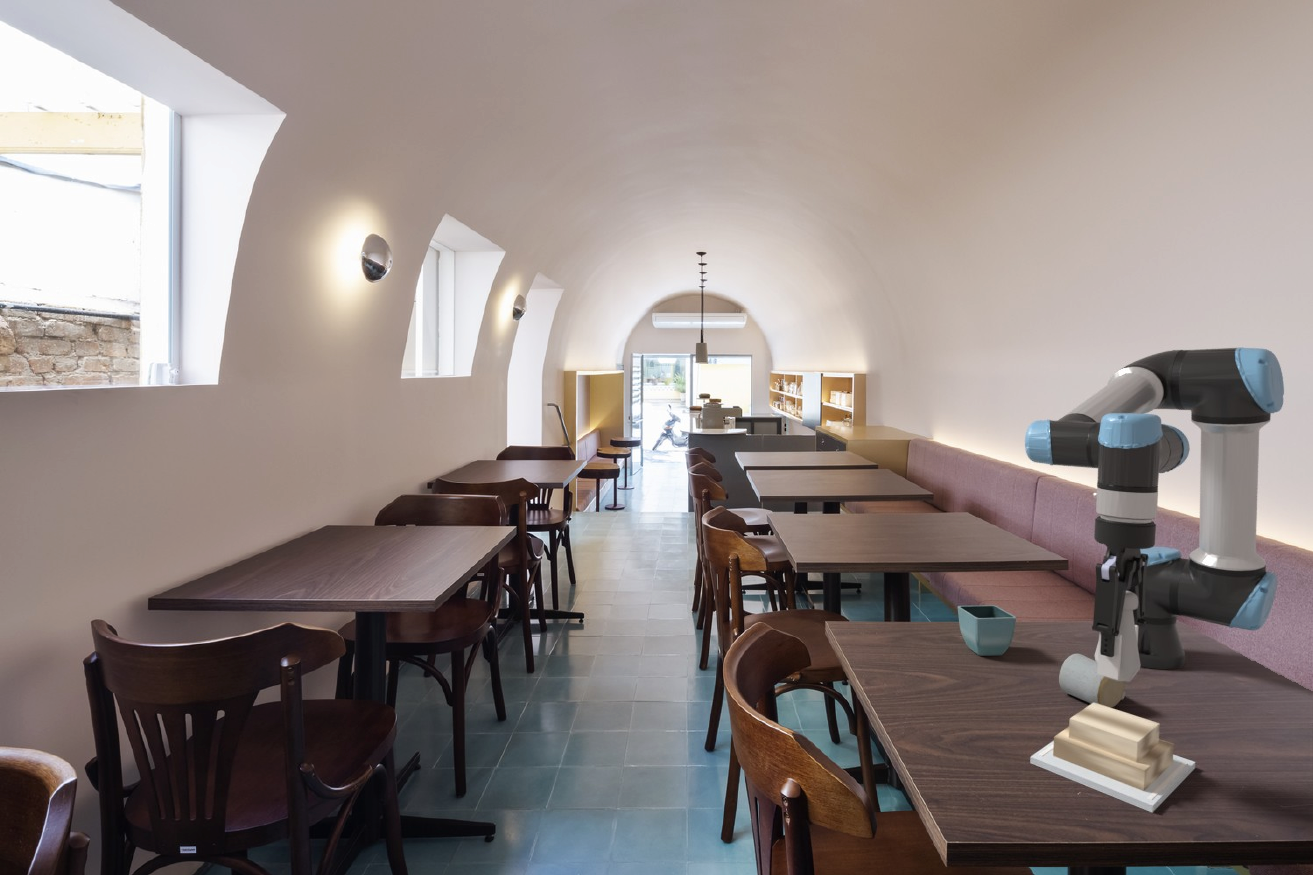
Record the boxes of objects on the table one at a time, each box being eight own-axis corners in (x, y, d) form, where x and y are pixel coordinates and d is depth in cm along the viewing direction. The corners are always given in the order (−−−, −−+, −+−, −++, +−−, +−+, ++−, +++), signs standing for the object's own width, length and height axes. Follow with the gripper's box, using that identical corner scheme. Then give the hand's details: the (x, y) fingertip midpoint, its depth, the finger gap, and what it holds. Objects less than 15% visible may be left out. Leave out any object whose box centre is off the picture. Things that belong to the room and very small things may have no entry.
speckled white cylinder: (1100, 714, 125) (1102, 671, 124) (1056, 695, 132) (1059, 655, 132) (1137, 704, 129) (1140, 663, 129) (1093, 686, 137) (1096, 647, 136)
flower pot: (955, 644, 158) (956, 605, 157) (993, 644, 158) (995, 604, 158) (975, 660, 149) (976, 618, 148) (1015, 659, 150) (1017, 617, 149)
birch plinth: (1085, 732, 116) (1087, 696, 116) (1172, 762, 107) (1175, 724, 106) (1053, 755, 109) (1054, 717, 108) (1143, 791, 100) (1146, 749, 99)
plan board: (1079, 727, 120) (1079, 721, 120) (1194, 768, 107) (1195, 761, 107) (1030, 762, 109) (1030, 756, 109) (1152, 812, 96) (1152, 804, 96)
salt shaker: (1100, 681, 105) (1104, 594, 104) (1088, 666, 110) (1092, 584, 110) (1146, 686, 103) (1151, 598, 102) (1132, 671, 109) (1136, 587, 108)
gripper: (1120, 507, 114) (1113, 649, 116) (1070, 521, 102) (1062, 678, 104) (1176, 514, 108) (1167, 663, 110) (1130, 529, 96) (1121, 696, 98)
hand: (1116, 670), depth 107 cm, fingers closed on salt shaker, 6 cm apart
